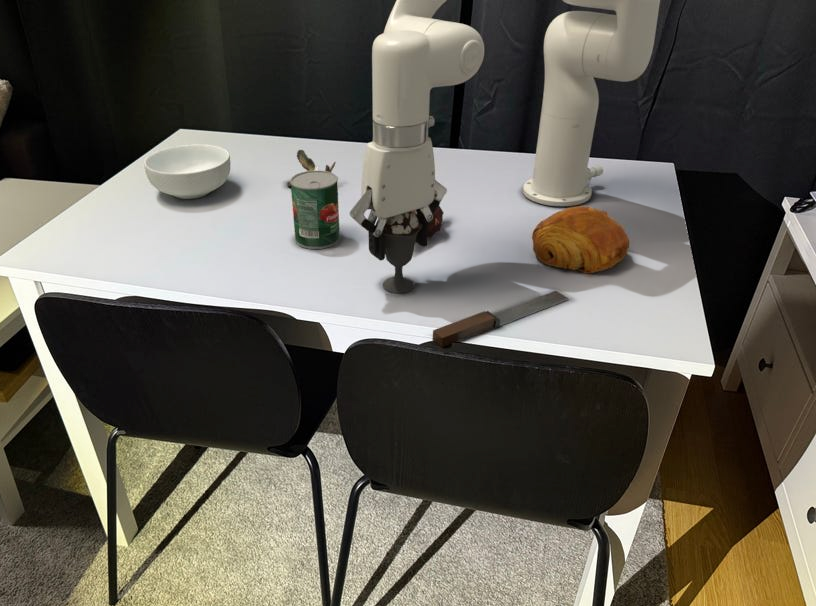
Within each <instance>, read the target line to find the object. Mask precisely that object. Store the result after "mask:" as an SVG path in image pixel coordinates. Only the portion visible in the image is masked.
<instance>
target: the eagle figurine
mask: <svg viewBox="0 0 816 606" xmlns="http://www.w3.org/2000/svg"><path fill="white" fill-rule="evenodd" d="M296 158H297V160H298V163H299V164H300V165H301V167H302V168H303V169H305V170H306V171H314V170H320V167H319V166H317V167H316V164H315V162H314V160H313V159H312V158H310V157H308V155H307V154H306V152H305V150H303V149H298V150H297V152H296ZM335 166H336V161H334V162H333V163H332V164H331V166H330V165H329V164H326V165H325V169H324V171H327V172H331V173H332V171H333V169H334V167H335ZM286 187H291V183H290V180H288V182H287V183H286Z"/></svg>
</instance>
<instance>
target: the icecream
mask: <svg viewBox="0 0 816 606" xmlns="http://www.w3.org/2000/svg"><path fill="white" fill-rule="evenodd" d="M443 199H444V197H443V198H442V200H441V201H440V202H439V203H440V204H441V202H442V201H443ZM440 204H439V206H438V208H437V209H436V210H435V212H434V213H433V219H432V220H431V221H429V233H428V239H430V238H433V236H435V235H436V234H437V233H438V232H441V229H442V226H443V221H444V219H443V216H444V210H443V209H442V207H441V206H440ZM412 213H413V214H414V215H416V212H415V210H413V211H412Z"/></svg>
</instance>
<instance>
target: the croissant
mask: <svg viewBox="0 0 816 606" xmlns="http://www.w3.org/2000/svg"><path fill="white" fill-rule="evenodd" d="M531 239H532V247H533V252H534V254H535V256H536V257H537V258H538V259H539V260H540V262H542V263H543V264H545V265H547V266H551V267H555V268H562V269H564V270H566V269H570V270H571V271H576V270H579V272H581V273H583V274H594V273H598V272H602V271H605V270H608V269H611V268H613V267H614V266H616V265H617V264H618V263H620V262H621V261H623V259H624V258H625V256H627V255H628V250H629V249H630V239H629V237H628V235H627V232H626V230H625V229H624V227H623V226H622V225H621V224H619V223H618V222H617V221H616V220H615V219H613V218H612V217H611V216H610V215H609V214H608V213H607V212H606V211H604V210H600V209H596V208H593V207H590V206H581V205H580V206H579V205H578V206H570V207H567V208H565V209H563V210H558V211H557V212H555V213H553V214H551V215H550V216H548V217H546V218H545V219H543V220H541V221H540V222H539V223H538V224H537V225H536V226H535V228H534V229H533V231H532V235H531Z"/></svg>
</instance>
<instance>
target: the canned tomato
mask: <svg viewBox="0 0 816 606" xmlns="http://www.w3.org/2000/svg"><path fill="white" fill-rule="evenodd" d="M338 180H339V179H338V176H337V175H336V174H335V173H333V172H332V171H331V172H327V171H325V170H320V169H319V170H314V171H307V170H306V171H301V172H298V173H296V174H294V175H293V176H291V178H290V180H289V181H290V183H291V186H290V193H291V204H292V205H291V206H292V215H293V219H292V220H293V228H294V241H295V244H296V245H298V246H299V247H301V248H305V249H309V250H322V249H327V248H331V247H333V246H336V244H338V243H339V242H340V239H341V234H340V212H339V209H340V208H339V189H338V188H339V187H338Z"/></svg>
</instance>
